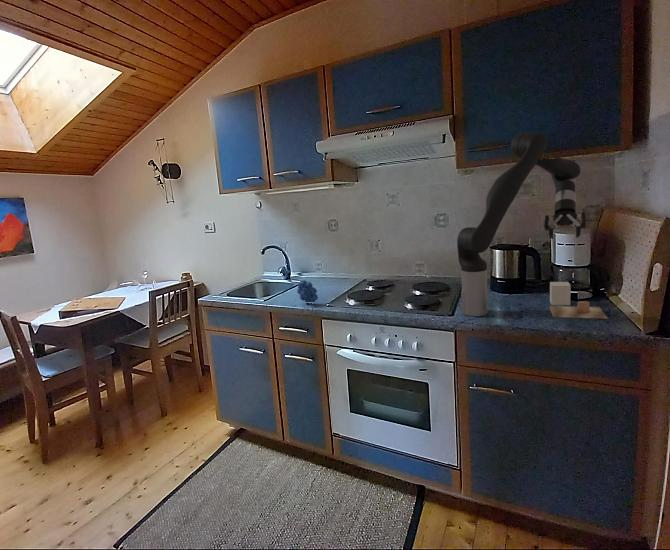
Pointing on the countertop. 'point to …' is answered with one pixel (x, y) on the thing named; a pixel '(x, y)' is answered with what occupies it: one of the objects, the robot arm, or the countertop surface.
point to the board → (572, 312)
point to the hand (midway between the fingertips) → (564, 237)
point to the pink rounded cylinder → (583, 307)
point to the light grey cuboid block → (560, 293)
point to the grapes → (307, 291)
